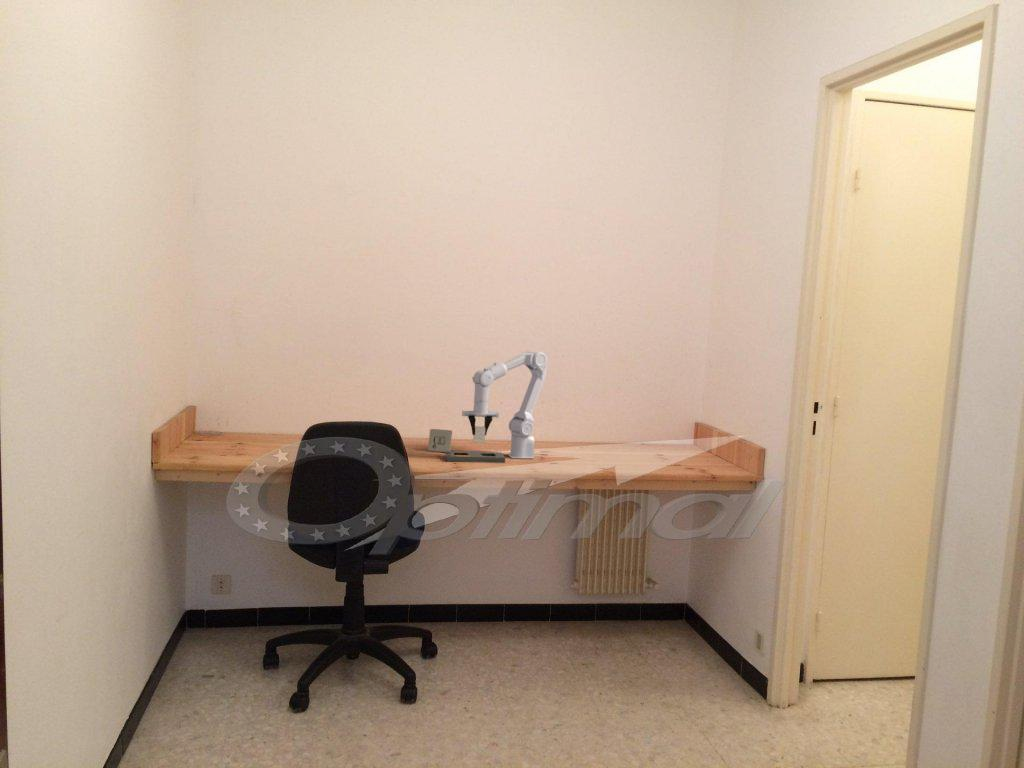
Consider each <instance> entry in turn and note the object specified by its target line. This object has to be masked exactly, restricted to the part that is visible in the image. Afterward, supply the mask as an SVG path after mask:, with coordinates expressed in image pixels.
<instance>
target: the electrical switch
mask: <svg viewBox="0 0 1024 768" xmlns="http://www.w3.org/2000/svg"><path fill="white" fill-rule="evenodd" d="M452 435H453V431H452V430H451V429H440V428H439V429H438V428H437V429H436V428H431V429H429V435H428V447H427V450H428V452H436V453H445V451H448V452H452V449H451V448H452V438H453V437H452Z"/></svg>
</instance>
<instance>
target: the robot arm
mask: <svg viewBox="0 0 1024 768" xmlns="http://www.w3.org/2000/svg"><path fill="white" fill-rule="evenodd" d="M548 363H549V360H548V358H547V355H546V353H544V352H542V351H535V350H530V349H528V350H526V351H524V352H523V351H522V352H521V353H519V354H518V355H516V356H515V357H513V358H511V359H508V360H507V361H504V362H503V363H502V362H497V361H495V362H494V363H493V365H491V366H488V367H484V368H483V370H481V369H480V370H477V371H476V372H475V373H474V374H473V376H472V381H473V384H474V395H473V396H474V397H473V410H462V411H461V417H467V418H468V421H469V423H470V427H471V434H472V436H474V435H475V426H476V420H477V419H476V417H478V418H480V417H481V418H484V426H483V427H485V436H487V433H488V430H489V427H490V425H491V423H492V421H493V418H496V419H497V418H498V419H499V416H500V413H499V412H498V411H489V400H490V399H489V398H490V397H489V396H490V386H491V385H492V384H493V382H494V381H496V380H498V379H500V378H502V377H504V376H506V374H507V372H508V371H510V370H512V369H515V368H517V367H520V366H522V365H525V366H526V368H527V369H528V370H529V372H530V373H531V378H530V381H529V384H528V386H527V389H526V392H525V394H524V396H523V400H522V402H521V405H520V408H519V410H518V411H517V412H516V413H515V414H513V416H512V418H511V420H510V421H508V422H509V423H508V429H509V431H510V434H511V436H510V437H511V438H510V452H509V453H508V454H507V455H508V457H510V458H511V459H534V458H535V457H534V455H535V454H534V453H535V437H534V435H531V434H532V432H533V430H534V422H535V419H534V417H533V413H534V410H535V407H536V404H537V402H538V400H539V397H540V393H541V391H542V389H543V385H544V383H545V380H546V377H547V365H548Z"/></svg>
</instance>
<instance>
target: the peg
mask: <svg viewBox="0 0 1024 768" xmlns="http://www.w3.org/2000/svg"><path fill="white" fill-rule="evenodd" d="M472 436H473V438H472V441H473V443H475V444H485V443H486V442H485V440H486V435H485V427H484V426H480V425H478V426H477V425H475V435H472Z"/></svg>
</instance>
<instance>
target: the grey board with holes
mask: <svg viewBox="0 0 1024 768" xmlns="http://www.w3.org/2000/svg"><path fill="white" fill-rule="evenodd" d="M444 459H445V461H446V462H452V463H461V462H462V463H463V462H464V463H496V464H497V463H503V464H505V463H506V457H505V456H504V454H503V453H502V452H494V451H493V452H490V451H489V452H488V451H487V452H486V451H450V452H448V451H445V452H444Z"/></svg>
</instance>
